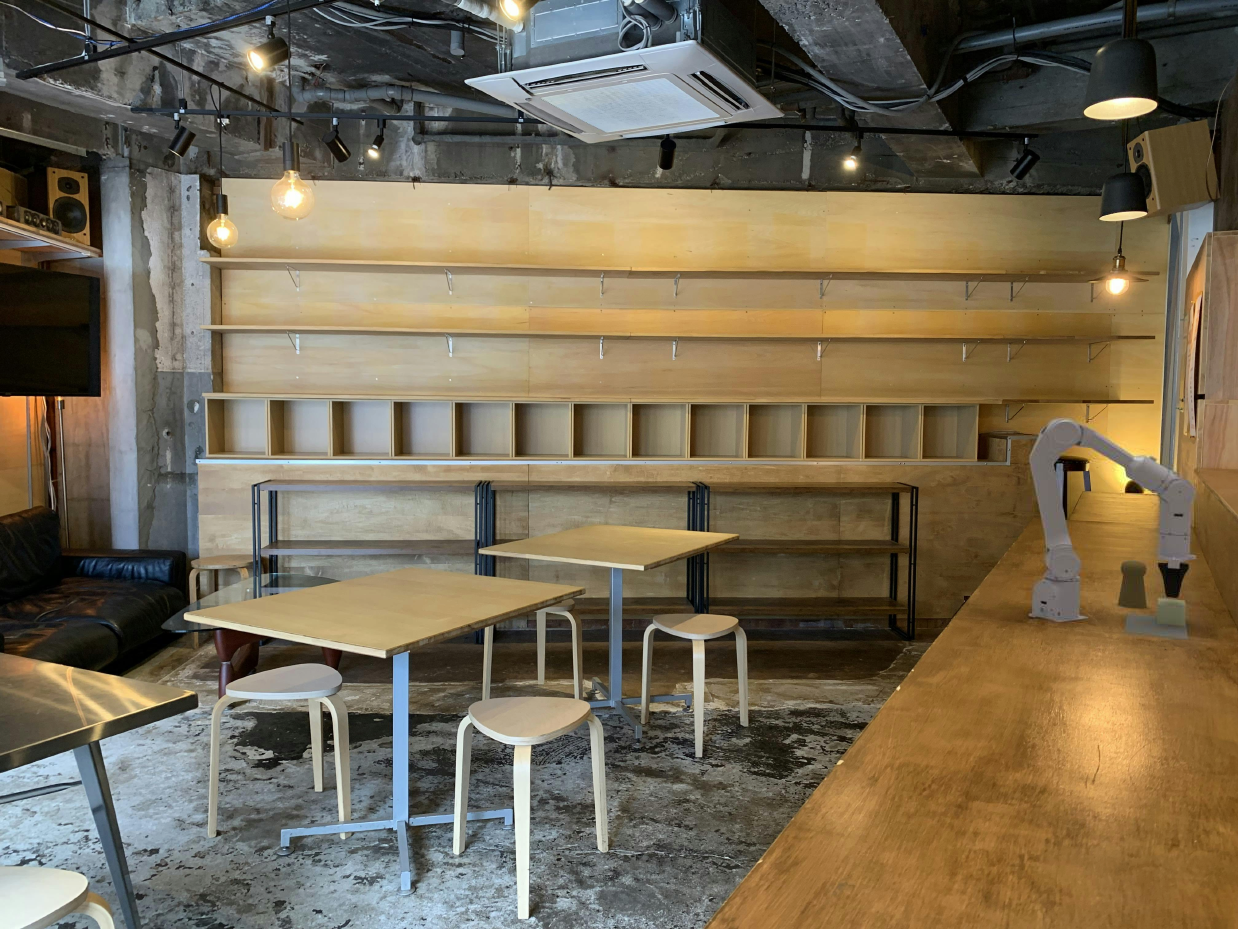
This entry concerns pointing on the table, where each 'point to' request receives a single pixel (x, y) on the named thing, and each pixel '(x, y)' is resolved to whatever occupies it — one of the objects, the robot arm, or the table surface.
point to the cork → (1133, 585)
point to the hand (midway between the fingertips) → (1171, 597)
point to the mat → (1153, 627)
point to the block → (1171, 612)
